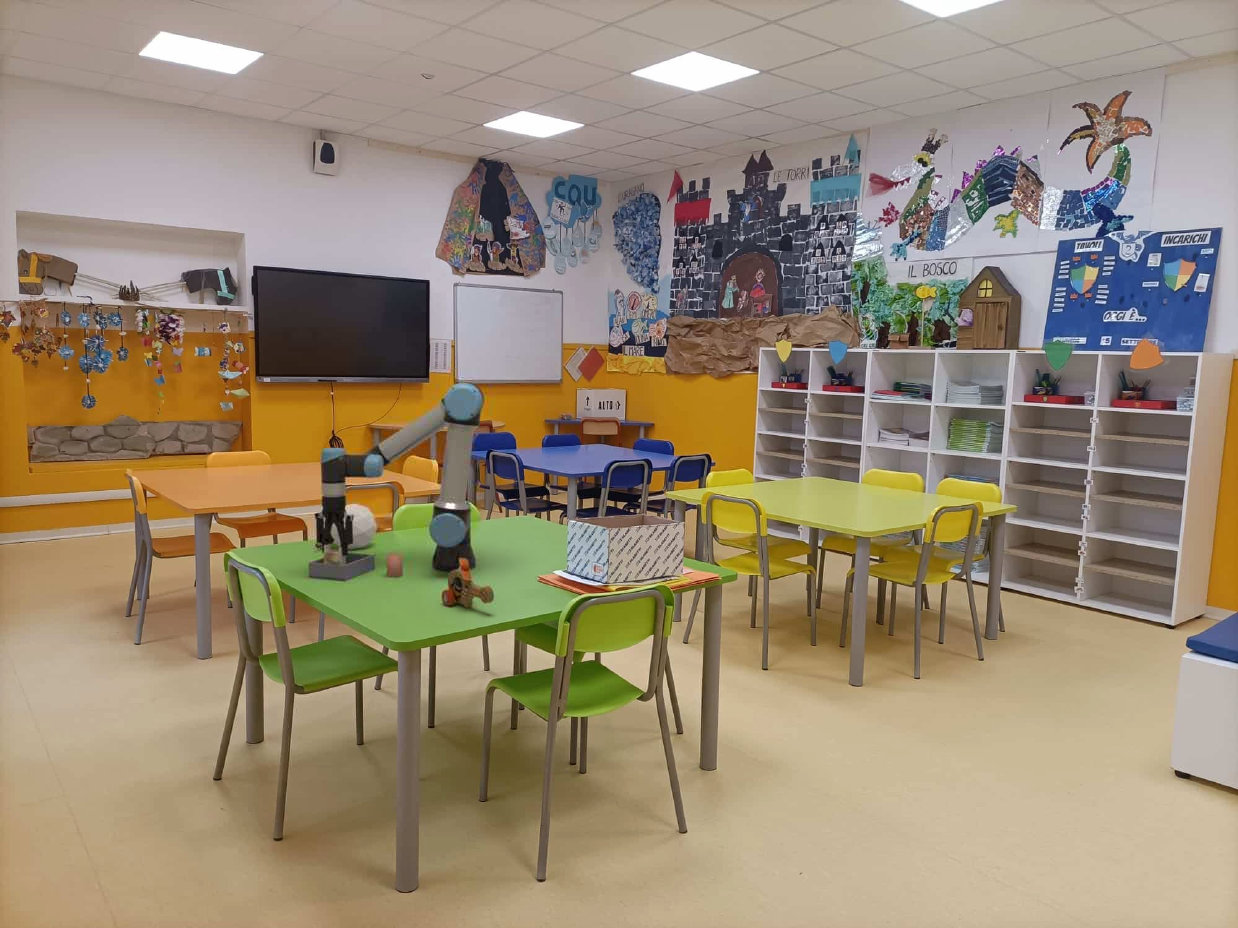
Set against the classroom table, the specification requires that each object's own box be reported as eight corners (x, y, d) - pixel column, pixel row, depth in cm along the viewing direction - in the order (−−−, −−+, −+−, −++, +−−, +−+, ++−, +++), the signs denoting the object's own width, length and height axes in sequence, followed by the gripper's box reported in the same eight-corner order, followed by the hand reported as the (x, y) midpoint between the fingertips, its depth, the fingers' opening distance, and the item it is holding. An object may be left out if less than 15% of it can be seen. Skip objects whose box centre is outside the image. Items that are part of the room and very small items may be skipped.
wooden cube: (345, 564, 290) (345, 550, 289) (336, 568, 285) (336, 553, 284) (333, 563, 291) (332, 548, 291) (323, 566, 286) (323, 551, 286)
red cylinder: (405, 574, 292) (405, 554, 291) (397, 578, 287) (397, 557, 286) (392, 573, 293) (391, 553, 292) (384, 577, 288) (383, 556, 288)
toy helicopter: (461, 598, 264) (461, 554, 262) (503, 613, 249) (503, 566, 248) (438, 603, 258) (438, 558, 257) (480, 619, 244) (480, 571, 242)
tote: (340, 565, 303) (340, 551, 302) (375, 569, 299) (374, 554, 298) (309, 577, 286) (308, 562, 285) (344, 581, 282) (344, 566, 281)
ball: (377, 536, 321) (347, 480, 322) (318, 569, 321) (288, 513, 323) (391, 534, 338) (362, 481, 340) (335, 565, 339) (307, 512, 340)
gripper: (364, 495, 286) (365, 564, 289) (317, 491, 292) (318, 559, 294) (350, 498, 279) (352, 569, 282) (303, 495, 284) (304, 564, 287)
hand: (335, 564), depth 288 cm, fingers closed on wooden cube, 5 cm apart
